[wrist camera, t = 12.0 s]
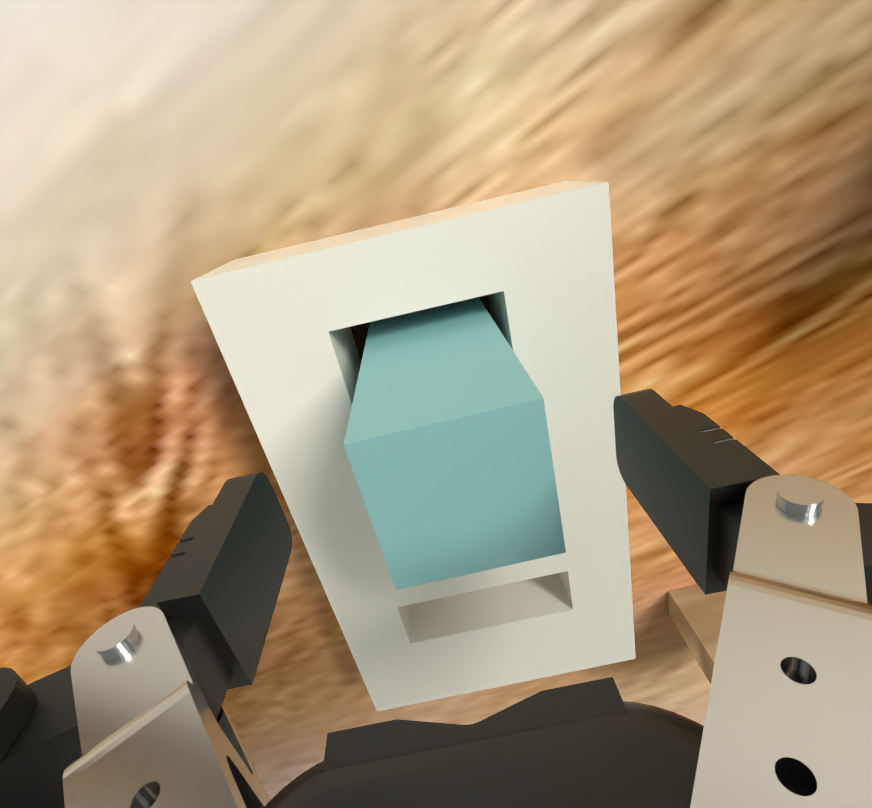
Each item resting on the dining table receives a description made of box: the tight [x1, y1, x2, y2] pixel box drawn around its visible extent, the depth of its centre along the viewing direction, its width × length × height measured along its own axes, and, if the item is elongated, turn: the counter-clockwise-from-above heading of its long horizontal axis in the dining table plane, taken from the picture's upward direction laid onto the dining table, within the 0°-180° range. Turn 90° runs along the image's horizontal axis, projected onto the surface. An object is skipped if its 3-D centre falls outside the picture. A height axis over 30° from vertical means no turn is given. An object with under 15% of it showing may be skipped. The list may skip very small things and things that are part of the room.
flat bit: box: [668, 585, 727, 683], centre depth 24 cm, size 2×5×6 cm, turn 102°
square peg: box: [344, 297, 566, 590], centre depth 15 cm, size 4×4×10 cm
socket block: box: [191, 181, 636, 712], centre depth 20 cm, size 20×12×4 cm, turn 12°
